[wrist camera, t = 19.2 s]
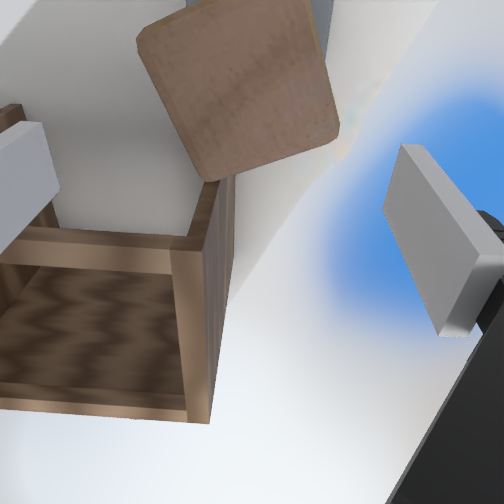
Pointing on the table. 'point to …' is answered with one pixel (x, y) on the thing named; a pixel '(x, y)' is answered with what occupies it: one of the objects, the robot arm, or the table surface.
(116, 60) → the table surface
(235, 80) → the wooden block
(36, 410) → the cubby
